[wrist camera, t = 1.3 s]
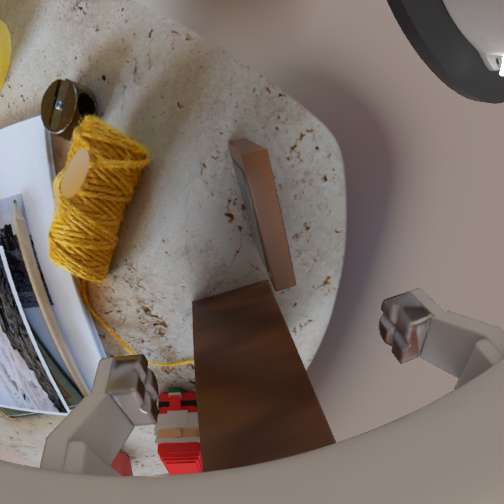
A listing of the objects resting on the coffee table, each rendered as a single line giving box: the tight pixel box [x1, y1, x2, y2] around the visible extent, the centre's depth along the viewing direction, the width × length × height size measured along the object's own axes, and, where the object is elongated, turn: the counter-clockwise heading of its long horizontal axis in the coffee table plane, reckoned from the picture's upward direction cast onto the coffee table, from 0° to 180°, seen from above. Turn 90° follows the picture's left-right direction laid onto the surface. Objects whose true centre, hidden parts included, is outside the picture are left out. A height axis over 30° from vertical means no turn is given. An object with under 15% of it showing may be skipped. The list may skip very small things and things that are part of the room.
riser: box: [192, 280, 336, 472], centre depth 20 cm, size 8×9×30 cm
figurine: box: [154, 388, 203, 475], centre depth 32 cm, size 8×7×12 cm
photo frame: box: [228, 138, 296, 291], centre depth 23 cm, size 2×10×8 cm, turn 14°
